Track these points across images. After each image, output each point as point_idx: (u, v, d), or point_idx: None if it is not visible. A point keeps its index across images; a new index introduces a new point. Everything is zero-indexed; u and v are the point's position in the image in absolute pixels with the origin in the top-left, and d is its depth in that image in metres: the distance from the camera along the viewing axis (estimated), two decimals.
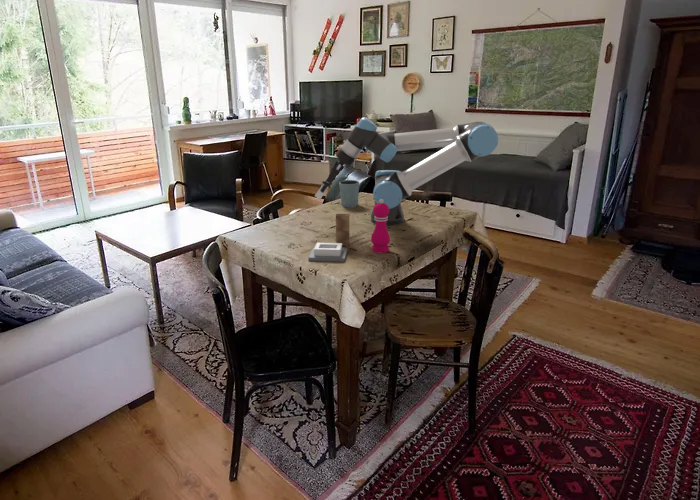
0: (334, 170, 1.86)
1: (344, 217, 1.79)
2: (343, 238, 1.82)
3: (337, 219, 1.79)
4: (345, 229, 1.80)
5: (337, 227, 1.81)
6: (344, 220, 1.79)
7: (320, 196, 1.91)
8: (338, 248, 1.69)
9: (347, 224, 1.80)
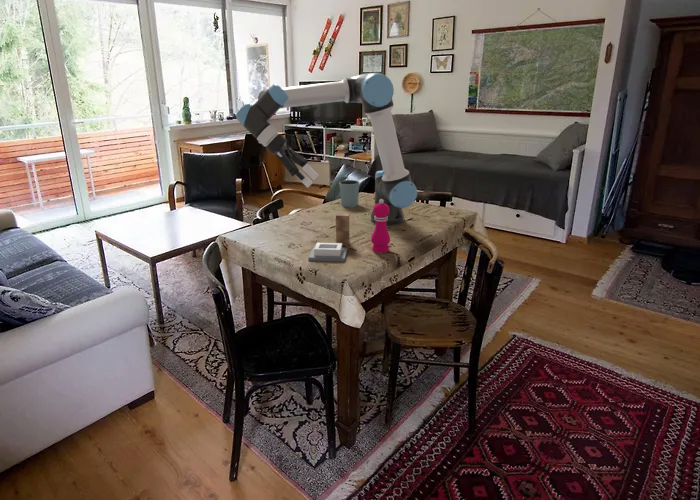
0: (281, 159, 1.67)
1: (344, 217, 1.79)
2: (343, 238, 1.82)
3: (337, 219, 1.79)
4: (345, 229, 1.80)
5: (337, 227, 1.81)
6: (344, 220, 1.79)
7: (309, 181, 1.69)
8: (338, 248, 1.69)
9: (347, 224, 1.80)
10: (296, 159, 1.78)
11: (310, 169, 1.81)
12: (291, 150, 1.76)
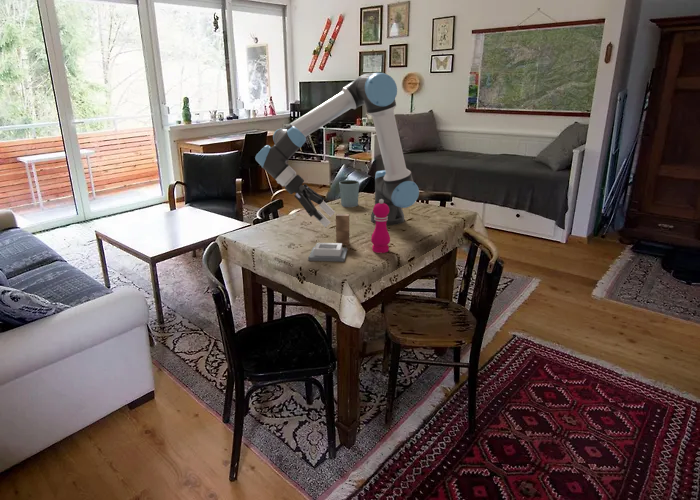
0: (300, 200, 1.71)
1: (344, 217, 1.79)
2: (343, 238, 1.82)
3: (337, 219, 1.79)
4: (345, 229, 1.80)
5: (337, 227, 1.81)
6: (344, 220, 1.79)
7: (326, 221, 1.73)
8: (338, 248, 1.69)
9: (347, 224, 1.80)
10: (313, 197, 1.83)
11: (327, 206, 1.85)
12: (308, 189, 1.80)
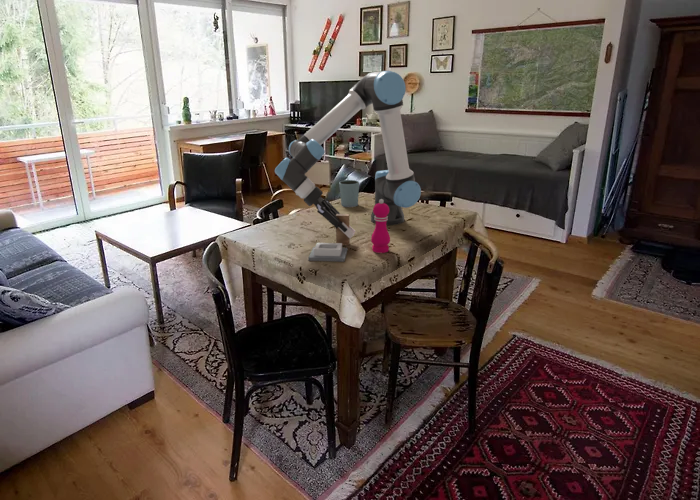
0: (324, 215, 1.75)
1: (344, 217, 1.79)
2: (343, 238, 1.82)
3: None
4: None
5: None
6: (344, 219, 1.79)
7: (351, 232, 1.80)
8: (338, 248, 1.69)
9: (347, 224, 1.80)
10: None
11: None
12: (328, 203, 1.81)
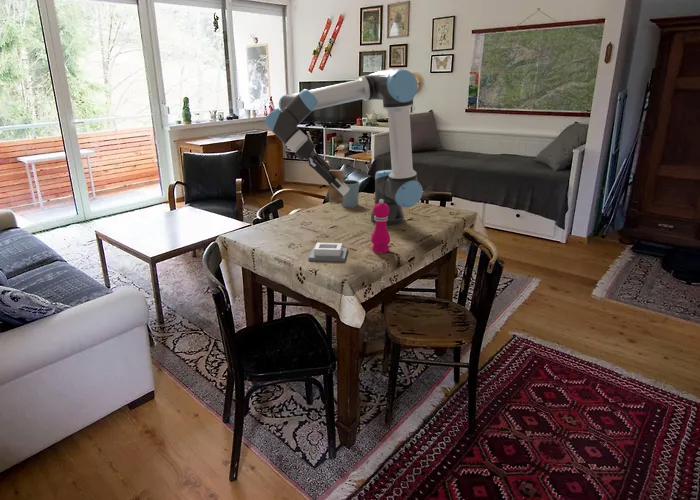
0: (316, 169, 1.65)
1: (337, 172, 1.69)
2: (337, 195, 1.72)
3: None
4: None
5: None
6: (337, 175, 1.70)
7: (345, 189, 1.70)
8: (338, 248, 1.69)
9: (341, 180, 1.70)
10: None
11: None
12: (321, 158, 1.71)
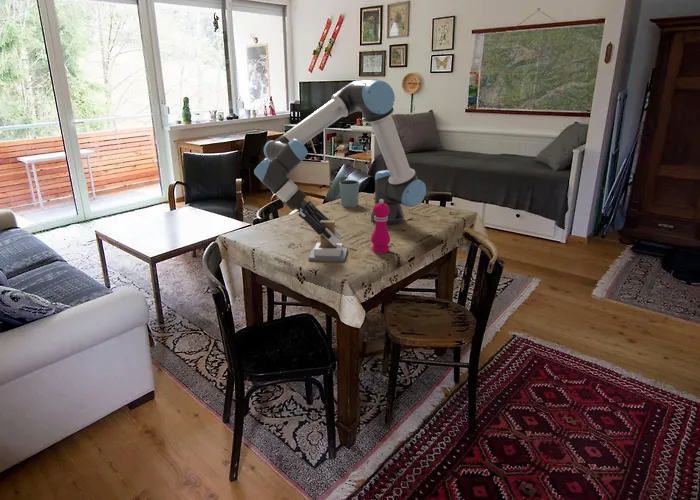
0: (306, 219, 1.62)
1: (329, 223, 1.67)
2: (329, 246, 1.70)
3: None
4: None
5: None
6: (329, 227, 1.67)
7: (335, 239, 1.66)
8: (338, 248, 1.69)
9: (332, 231, 1.68)
10: (317, 216, 1.70)
11: None
12: (312, 206, 1.69)
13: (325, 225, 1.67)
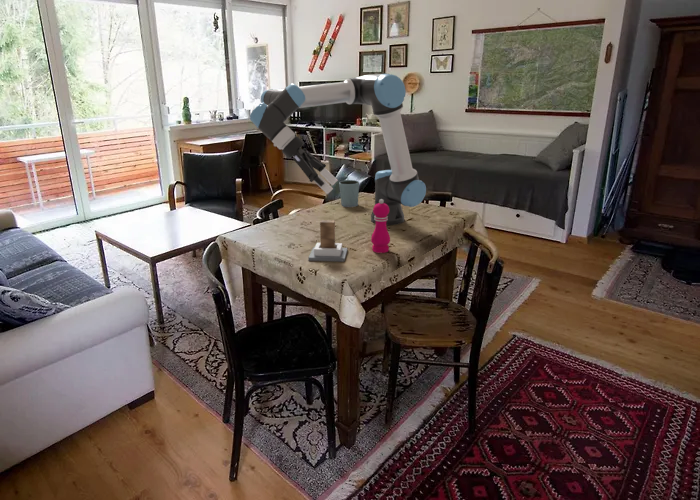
0: (299, 164, 1.54)
1: (329, 223, 1.67)
2: (329, 246, 1.70)
3: (321, 226, 1.67)
4: (331, 237, 1.68)
5: (322, 234, 1.68)
6: (329, 227, 1.67)
7: (328, 187, 1.56)
8: (338, 248, 1.69)
9: (332, 231, 1.68)
10: (314, 163, 1.65)
11: (328, 174, 1.68)
12: (308, 153, 1.63)
13: (325, 225, 1.67)
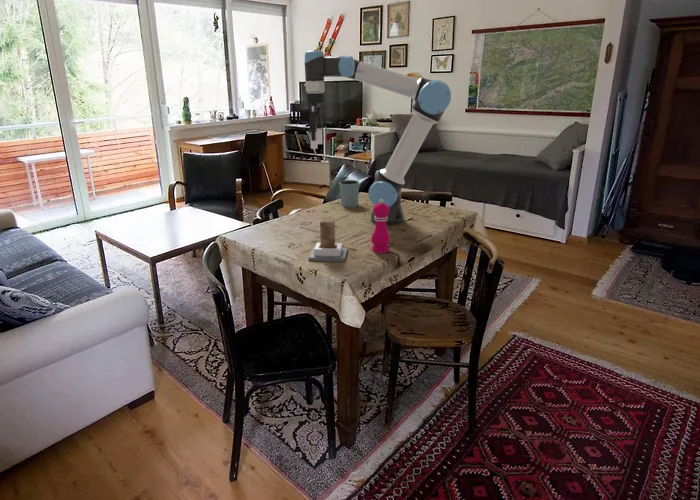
0: (311, 113, 1.83)
1: (329, 223, 1.67)
2: (329, 246, 1.70)
3: (321, 226, 1.67)
4: (331, 237, 1.68)
5: (322, 234, 1.68)
6: (329, 227, 1.67)
7: (315, 145, 1.87)
8: (338, 248, 1.69)
9: (332, 231, 1.68)
10: (318, 119, 1.95)
11: (320, 135, 1.99)
12: (320, 111, 1.92)
13: (325, 225, 1.67)
